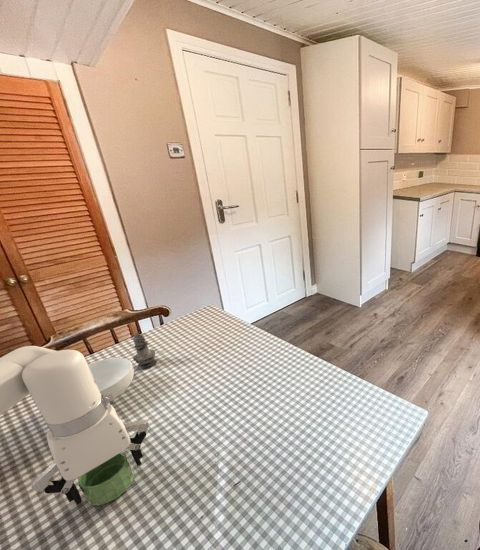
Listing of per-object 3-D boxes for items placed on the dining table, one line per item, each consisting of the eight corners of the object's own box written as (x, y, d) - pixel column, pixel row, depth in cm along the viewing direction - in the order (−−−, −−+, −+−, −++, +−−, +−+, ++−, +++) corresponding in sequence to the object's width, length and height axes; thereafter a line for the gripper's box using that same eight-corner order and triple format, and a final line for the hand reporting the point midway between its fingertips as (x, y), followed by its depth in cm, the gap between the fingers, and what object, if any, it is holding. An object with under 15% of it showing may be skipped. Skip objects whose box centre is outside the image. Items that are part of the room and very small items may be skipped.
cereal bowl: (119, 369, 95) (112, 351, 92) (151, 386, 88) (144, 366, 86) (48, 407, 81) (37, 386, 78) (80, 430, 74) (69, 409, 72)
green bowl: (81, 513, 57) (70, 494, 55) (97, 477, 64) (88, 458, 62) (127, 498, 60) (119, 479, 58) (139, 465, 66) (131, 447, 64)
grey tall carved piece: (141, 372, 94) (130, 339, 89) (132, 366, 97) (121, 334, 92) (161, 362, 99) (152, 330, 94) (152, 356, 101) (142, 325, 97)
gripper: (129, 380, 63) (152, 439, 69) (5, 436, 50) (47, 502, 57) (141, 396, 58) (164, 458, 65) (9, 463, 46) (53, 531, 52)
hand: (109, 479), depth 61 cm, fingers open, 9 cm apart
